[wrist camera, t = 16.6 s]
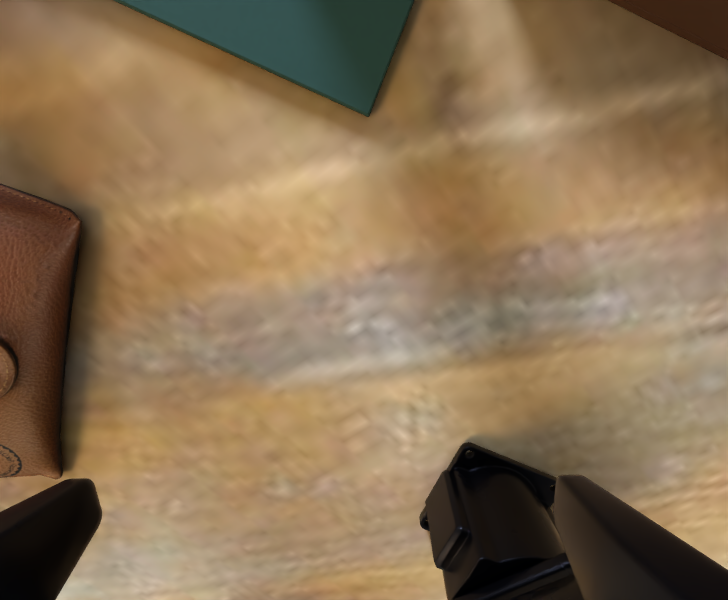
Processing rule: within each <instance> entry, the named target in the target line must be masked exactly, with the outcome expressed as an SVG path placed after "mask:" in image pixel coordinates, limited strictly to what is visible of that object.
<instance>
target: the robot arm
mask: <svg viewBox="0 0 728 600" xmlns="http://www.w3.org/2000/svg"><path fill="white" fill-rule="evenodd" d="M469 450H470V451H472V452H471V453H466V452H467V451H469ZM551 485H554V486H553V487H550V486H551ZM553 503H554V504H553ZM425 504H426V506H425V508H424V509H423V511H422V513H421V514H420V517H419V518H420V525H421V527H422V528H424V529H426V530H428V531H430V537H431V544H432V551H433V557H434V562H435V565H436V567H437V568H439V569H442V570H443V576H444V582H445V588H446V594H447V600H728V570H727V569H726V568H724V567H722V566H721V565H719V564H718V563H716V562H715V561H713V560H712V559H710V558H709V557H707V556H706V555H704V554H703V553H701V552H699V551H698V550H696V549H695V548H693V547H692V546H690V545H689V544H687V543H686V542H684V541H683V540H681V539H680V538H678V537H676V536H675V535H673V534H672V533H670V532H669V531H667V530H666V529H664V528H663V527H661V526H660V525H658V524H657V523H655V522H653V521H652V520H650V519H649V518H647V517H646V516H644V515H643V514H641V513H640V512H638V511H637V510H635V509H634V508H632V507H631V506H629V505H627V504H626V503H624V502H623V501H621V500H620V499H618V498H617V497H615V496H614V495H612V494H611V493H609V492H608V491H606V490H604V489H603V488H601V487H600V486H598V485H597V484H595V483H594V482H592V481H591V480H589V479H588V478H586V477H584V476H582V475H560V476H558V477H557V478H556V477H554V476H551V475H549V474H546V473H544V472H541V471H539V470H537V469H534V468H532V467H529V466H527V465H524V464H522V463H519V462H517V461H515V460H512V459H510V458H507V457H505V456H502V455H500V454H497V453H495V452H493V451H490V450H488V449H485V448H483V447H480V446H478V445H475V444H473V443H469V442H468V443H464V444H462V445H461V446H460V448H459V450H458V451H457V453H456V455H455V457H454V458H453V460H452V462H451V463H450V465H449V467H448V468H447V470H445V471H443V472H442V474H441V475H440V477H439V479H438V481H437V482H436V484H435V486H434V487H433V489H432V491H431V493H430V494H429V496H428V498H427V499H426V502H425ZM552 504H553V513H552V511H551V509H550V507H551V505H552ZM101 518H102V509H101V506H100V502H99V499H98V495H97V492H96V488H95V485H94V483H93V482H92V481H91V480H90V479H68V480H65V481H62V482H60V483H58V484H56V485H54V486H52V487H50V488H48V489H46V490H44V491H42V492H40V493H38V494H36V495H34V496H32V497H30V498H28V499H26V500H24V501H22V502H20V503H18V504H16V505H14V506H12V507H10V508H8V509H6V510H4V511H2V512H0V600H56V598H57V596H58V594H59V593H60V591H61V589H62V588H63V586H64V584H65V583H66V581H67V579H68V577H69V576H70V574H71V572H72V571H73V569H74V567H75V566H76V564H77V562H78V561H79V559H80V557H81V555H82V554H83V552H84V550H85V549H86V547H87V545H88V544H89V542H90V540H91V538H92V537H93V535H94V533H95V532H96V530H97V528H98V526H99V524H100V522H101ZM426 520H428V521H426Z"/></svg>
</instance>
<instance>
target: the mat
mask: <svg viewBox="0 0 728 600" xmlns="http://www.w3.org/2000/svg"><path fill="white" fill-rule="evenodd" d="M114 1H116V2H118V3H120V4H123V5H125V6H127V7H129V8H131V9H133V10H136V11H138V12H140V13H142V14H144V15H147V16H149V17H151V18H153V19H155V20H157V21H160V22H162V23H164V24H166V25H168V26H171V27H173V28H175V29H177V30H179V31H182V32H184V33H186V34H188V35H190V36H192V37H195V38H197V39H199V40H201V41H203V42H206V43H208V44H210V45H212V46H214V47H216V48H219V49H221V50H223V51H225V52H227V53H230V54H232V55H234V56H236V57H238V58H241V59H243V60H245V61H247V62H249V63H251V64H254V65H256V66H258V67H260V68H262V69H265V70H267V71H269V72H271V73H273V74H275V75H278V76H280V77H282V78H284V79H286V80H289V81H291V82H293V83H295V84H297V85H300V86H302V87H304V88H306V89H308V90H310V91H313V92H315V93H317V94H319V95H321V96H324V97H326V98H328V99H330V100H332V101H334V102H337V103H339V104H341V105H343V106H345V107H348V108H350V109H352V110H354V111H356V112H359V113H361V114H363V115H365V116H367V117H369V115H370V113H371V110H372V108H373V105H374V102H375V100H376V97H377V95H378V92H379V90H380V87H381V85H382V82H383V79H384V77H385V74H386V72H387V69H388V67H389V64H390V62H391V59H392V56H393V54H394V51H395V49H396V46H397V44H398V41H399V38H400V36H401V33H402V31H403V28H404V26H405V23H406V21H407V18H408V15H409V13H410V10H411V8H412V5H413V3H414V0H114Z"/></svg>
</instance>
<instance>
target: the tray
mask: <svg viewBox="0 0 728 600" xmlns="http://www.w3.org/2000/svg"><path fill="white" fill-rule="evenodd" d="M609 1H611V2H613V3H615V4H617V5H619V6H621V7H623V8H625V9H627V10H629V11H631V12H633V13H635V14H637V15H639V16H641V17H643V18H645V19H647V20H649V21H651V22H653V23H655V24H657V25H659V26H661V27H663V28H665V29H667V30H669V31H671V32H673V33H675V34H677V35H679V36H681V37H683V38H685V39H687V40H689V41H691V42H693V43H695V44H697V45H699V46H701V47H703V48H705V49H707V50H709V51H711V52H713V53H715V54H717V55H719V56H721V57H723V58H725V59H727V60H728V0H609Z"/></svg>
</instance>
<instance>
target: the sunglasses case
mask: <svg viewBox="0 0 728 600" xmlns="http://www.w3.org/2000/svg"><path fill="white" fill-rule="evenodd" d="M81 225H82V221H81V220H80V219H79V218H78V216H77V215H76V214H75V213H74V212H73V211H72V210H70V209H68V208H66V207H63V206H60V205H58V204H55V203H53V202H50V201H48V200H45V199H43V198H40V197H37V196H34V195H31V194H28V193H25V192H23V191H20V190H17V189H14V188H11V187H8V186H5V185H3V184H0V478H1V477H17V476H35V475H43V476H47V477H51V478H54V479H58V478H61V476H62V473H63V469H62V457H61V441H60V432H61V412H62V396H63V383H64V372H65V360H66V350H67V342H68V334H69V326H70V318H71V310H72V302H73V293H74V284H75V276H76V271H77V264H78V256H79V247H80V238H81Z"/></svg>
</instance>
